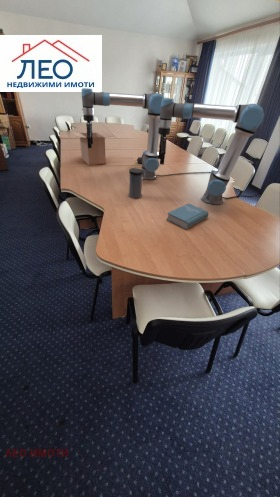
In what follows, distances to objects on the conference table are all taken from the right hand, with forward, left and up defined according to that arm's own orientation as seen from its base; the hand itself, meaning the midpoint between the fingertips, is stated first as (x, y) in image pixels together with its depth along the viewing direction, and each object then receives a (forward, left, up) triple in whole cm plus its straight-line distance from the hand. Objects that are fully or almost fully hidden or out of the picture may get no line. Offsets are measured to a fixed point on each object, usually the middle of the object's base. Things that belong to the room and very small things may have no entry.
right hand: (160, 161), depth 154 cm
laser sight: (+6, -87, -27) cm, 91 cm away
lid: (+17, 0, -8) cm, 18 cm away
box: (+64, -86, -27) cm, 110 cm away
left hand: (+54, -26, +1) cm, 60 cm away
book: (-18, +33, -27) cm, 46 cm away
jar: (+17, 0, -27) cm, 31 cm away
